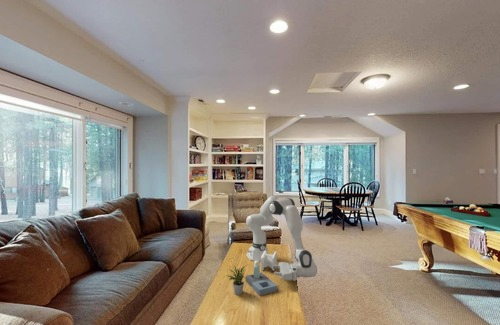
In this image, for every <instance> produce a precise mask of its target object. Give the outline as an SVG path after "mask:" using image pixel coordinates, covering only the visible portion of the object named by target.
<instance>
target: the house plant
mask: <svg viewBox="0 0 500 325" xmlns="http://www.w3.org/2000/svg"><path fill="white" fill-rule="evenodd" d="M233 267H234V271H233V270H232V269H229V268H227V270H228V271H230V273H231V275H229V274H228V275H226V277H228V281H232V280H233V282H232V286H233V292H234V295H237V296H240V295H242V294H243V290H244V281H243V280H245V272H246V270H247V269H246V268H245V267H246V265H243V267H241V268H240V267H239V268H238V267H236V266H235V265H233ZM245 269H246V270H245Z"/></svg>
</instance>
